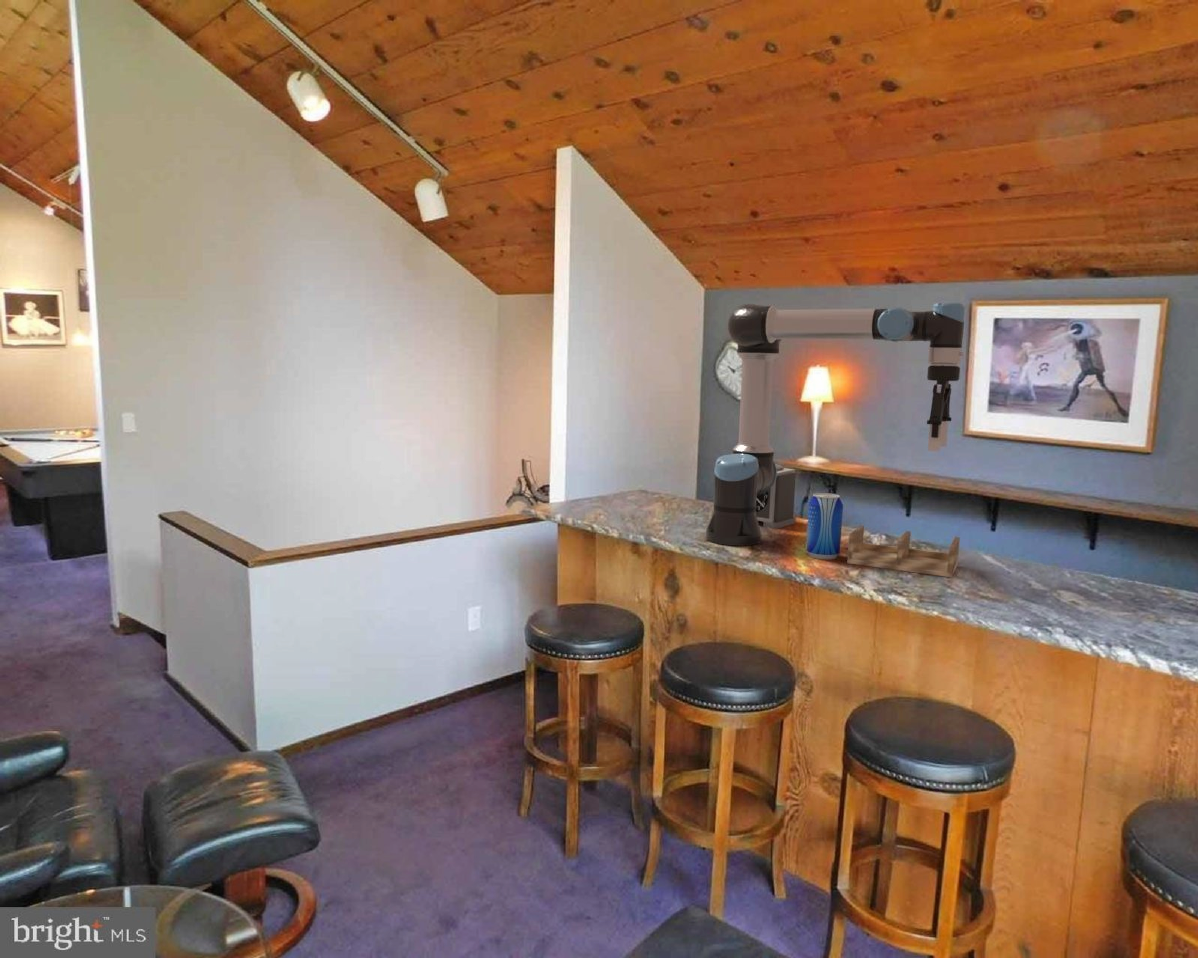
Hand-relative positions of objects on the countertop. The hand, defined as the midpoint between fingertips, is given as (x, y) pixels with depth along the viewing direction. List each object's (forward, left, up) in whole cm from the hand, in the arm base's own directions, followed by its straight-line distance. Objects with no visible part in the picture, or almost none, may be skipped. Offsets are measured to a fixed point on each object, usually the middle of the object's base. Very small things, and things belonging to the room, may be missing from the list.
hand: (937, 448), depth 206 cm
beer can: (-23, -18, -28) cm, 41 cm away
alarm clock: (-51, +17, -28) cm, 61 cm away
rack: (-4, -15, -28) cm, 32 cm away
